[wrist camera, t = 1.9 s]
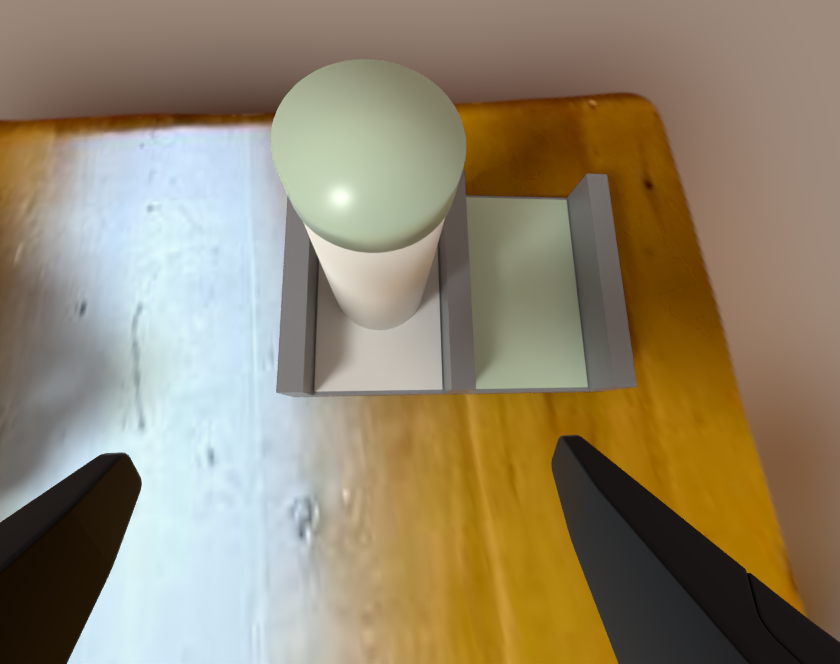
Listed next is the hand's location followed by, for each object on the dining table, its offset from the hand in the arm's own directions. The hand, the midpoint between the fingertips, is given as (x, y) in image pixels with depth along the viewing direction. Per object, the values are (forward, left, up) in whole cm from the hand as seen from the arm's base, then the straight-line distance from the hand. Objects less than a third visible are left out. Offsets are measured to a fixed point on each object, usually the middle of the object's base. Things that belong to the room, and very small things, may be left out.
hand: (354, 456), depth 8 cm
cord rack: (+4, -8, -13) cm, 16 cm away
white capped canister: (+6, -5, -12) cm, 15 cm away
